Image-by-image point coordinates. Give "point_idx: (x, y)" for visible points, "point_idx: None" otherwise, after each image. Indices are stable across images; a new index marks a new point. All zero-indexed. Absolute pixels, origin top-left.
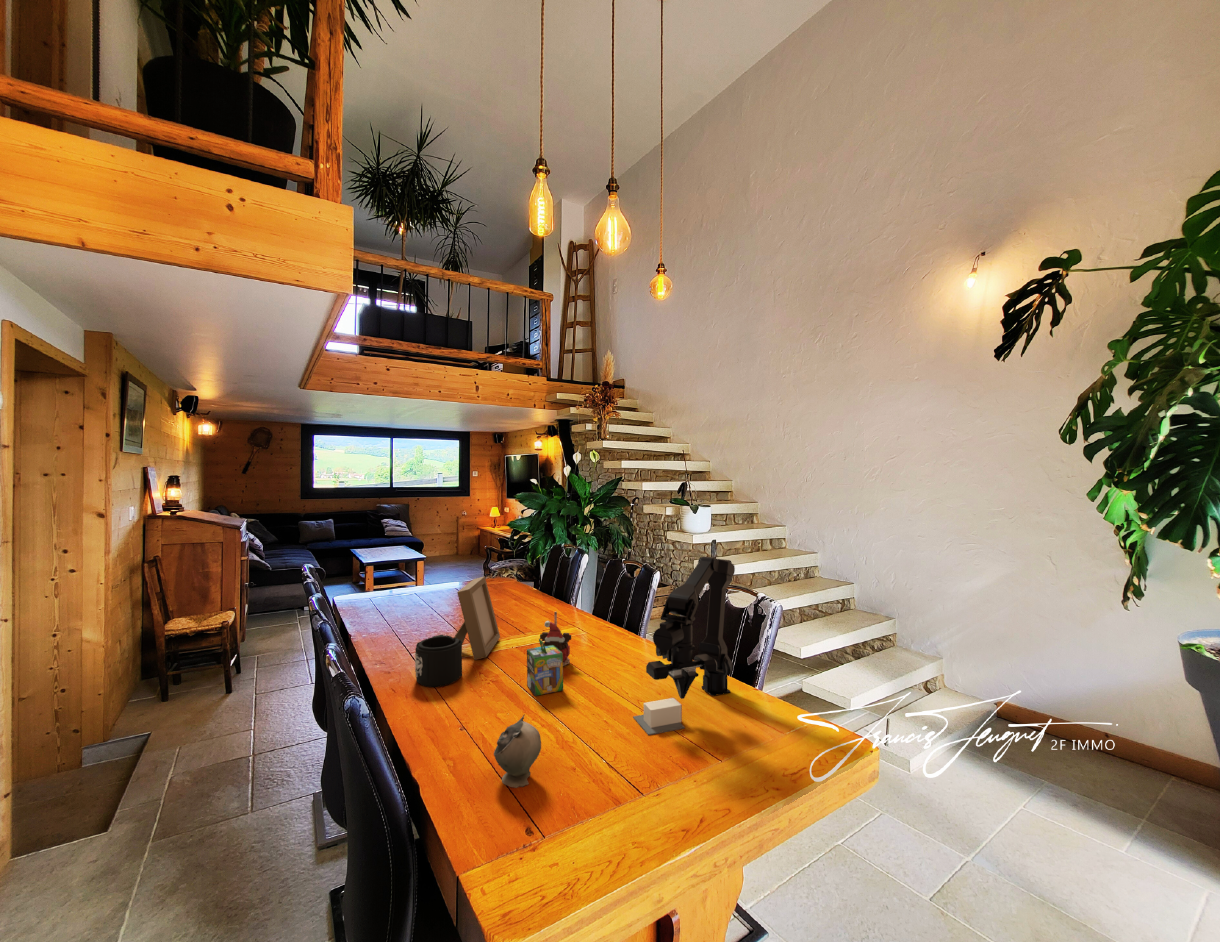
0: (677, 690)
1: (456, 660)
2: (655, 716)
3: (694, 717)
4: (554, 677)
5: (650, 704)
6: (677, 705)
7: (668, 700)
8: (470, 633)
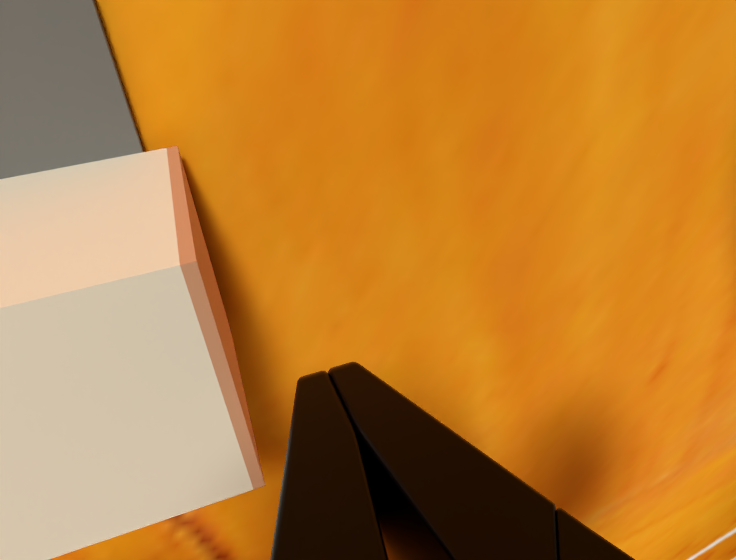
0: (281, 491)
1: None
2: None
3: (404, 220)
4: None
5: None
6: (188, 506)
7: (40, 370)
8: None
